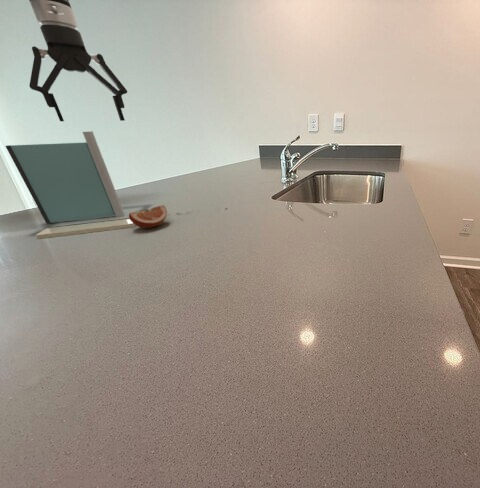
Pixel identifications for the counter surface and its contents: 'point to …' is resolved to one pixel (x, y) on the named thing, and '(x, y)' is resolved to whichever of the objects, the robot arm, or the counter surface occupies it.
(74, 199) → the shower door
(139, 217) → the fruit slice
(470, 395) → the counter surface
